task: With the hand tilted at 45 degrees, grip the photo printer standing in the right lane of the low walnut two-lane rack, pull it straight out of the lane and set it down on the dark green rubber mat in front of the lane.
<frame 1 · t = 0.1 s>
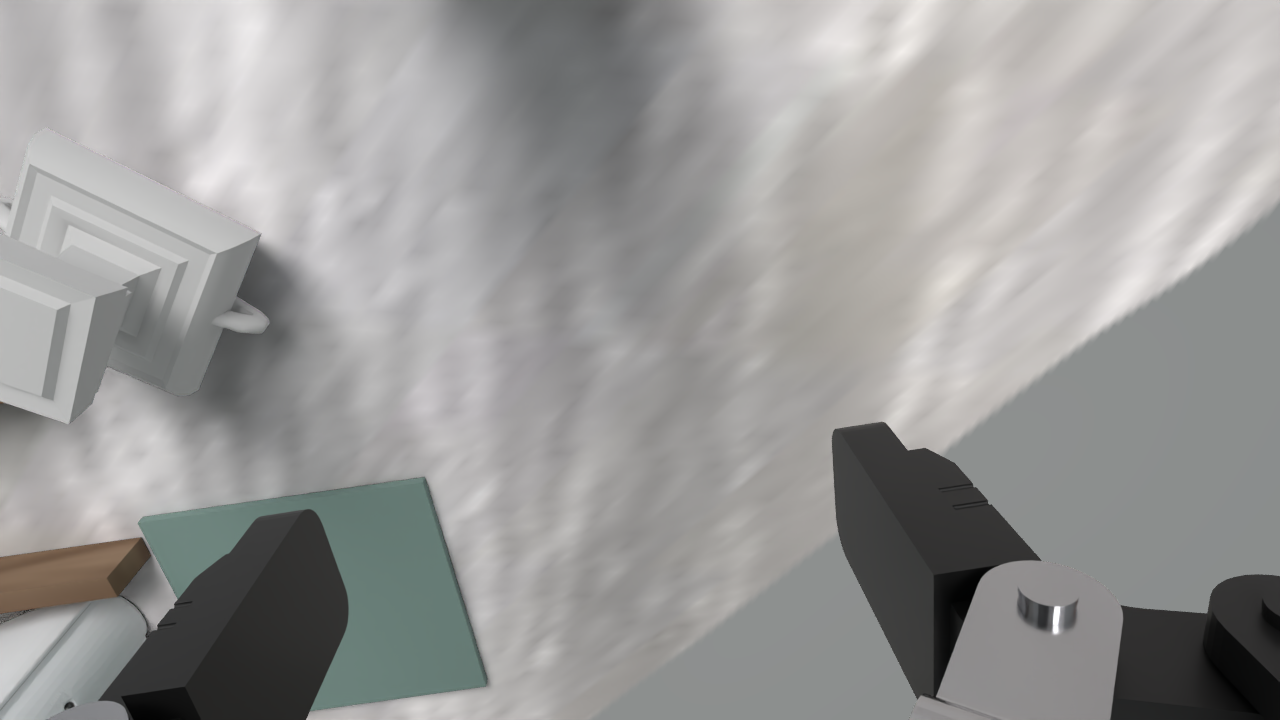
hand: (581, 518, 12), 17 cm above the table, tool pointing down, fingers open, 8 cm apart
photo printer: (50, 639, 34), resting in lane rack
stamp: (169, 245, 27), on the table
lane rack: (46, 643, 34), on the table
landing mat: (327, 604, 34), on the table
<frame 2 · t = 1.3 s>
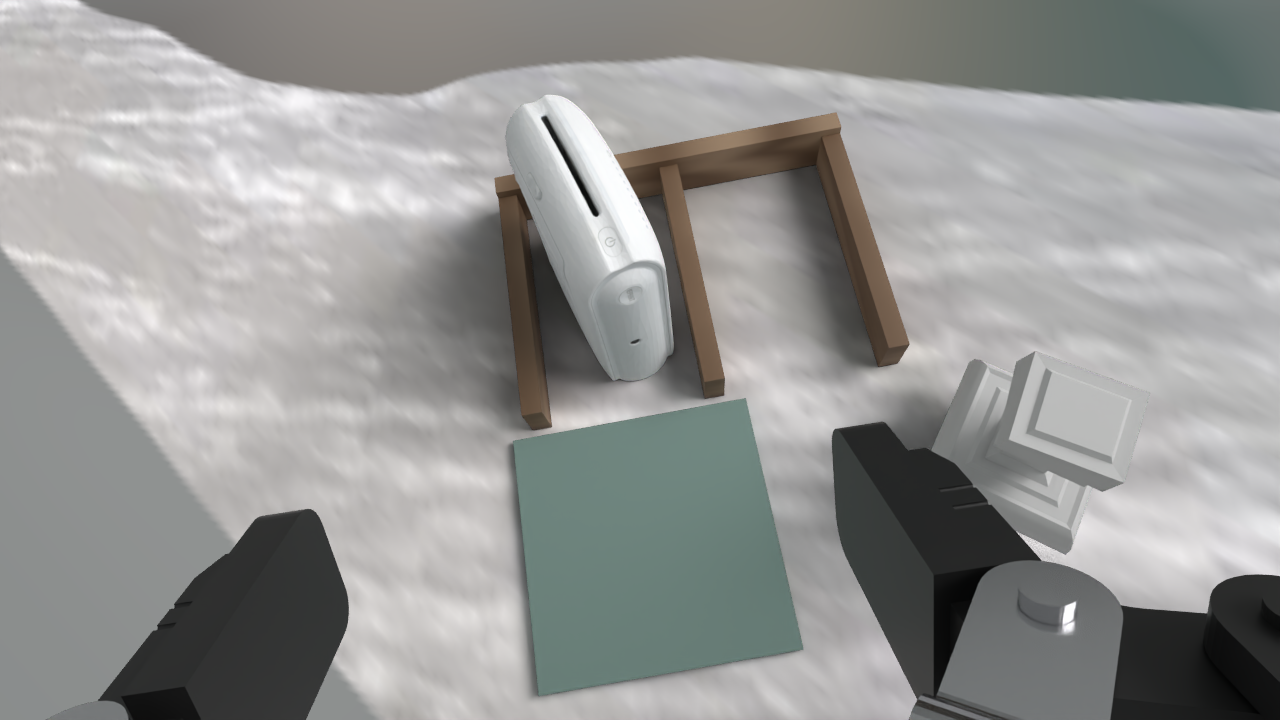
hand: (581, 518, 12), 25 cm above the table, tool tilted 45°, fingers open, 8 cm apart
photo printer: (610, 303, 41), resting in lane rack
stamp: (994, 467, 36), on the table
lane rack: (609, 301, 41), on the table
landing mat: (649, 539, 36), on the table
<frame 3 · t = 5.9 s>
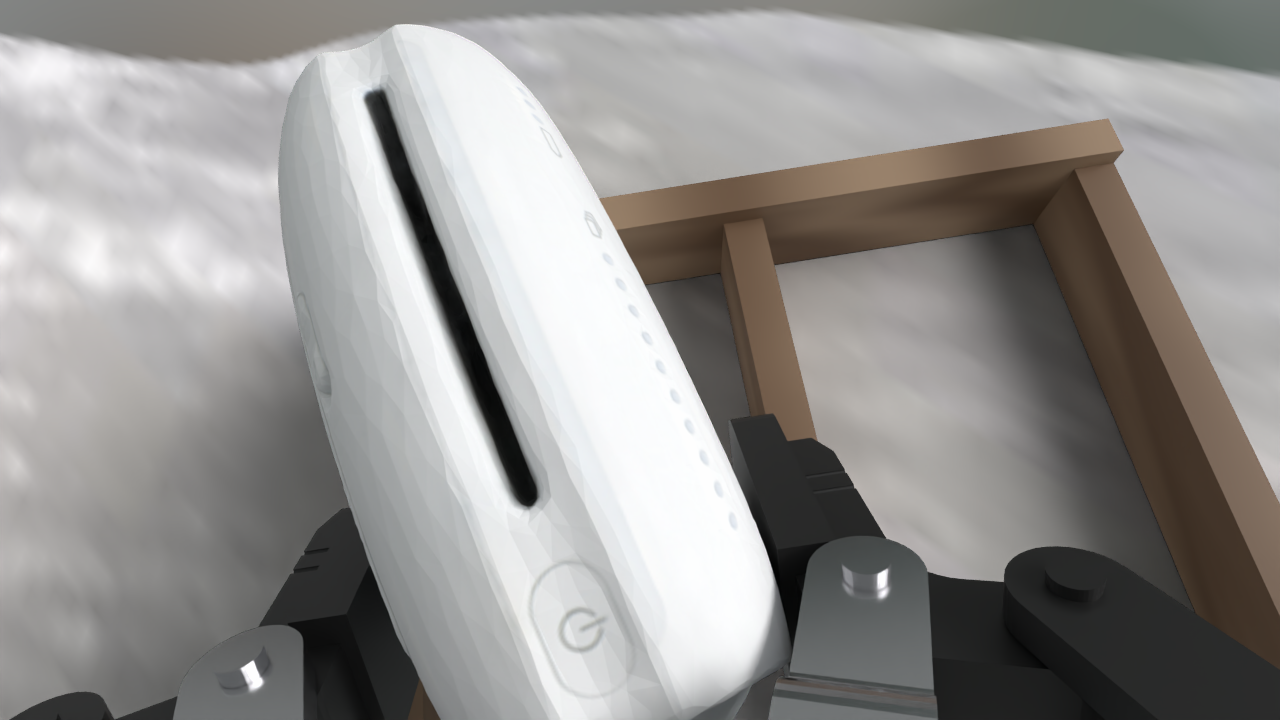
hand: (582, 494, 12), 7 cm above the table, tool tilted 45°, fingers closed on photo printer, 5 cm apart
photo printer: (609, 512, 19), resting in lane rack, touching gripper
lane rack: (608, 511, 19), on the table
when the fingers open (7 cm above the table, at t = 10.1 s): photo printer stays where it is, resting on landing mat.
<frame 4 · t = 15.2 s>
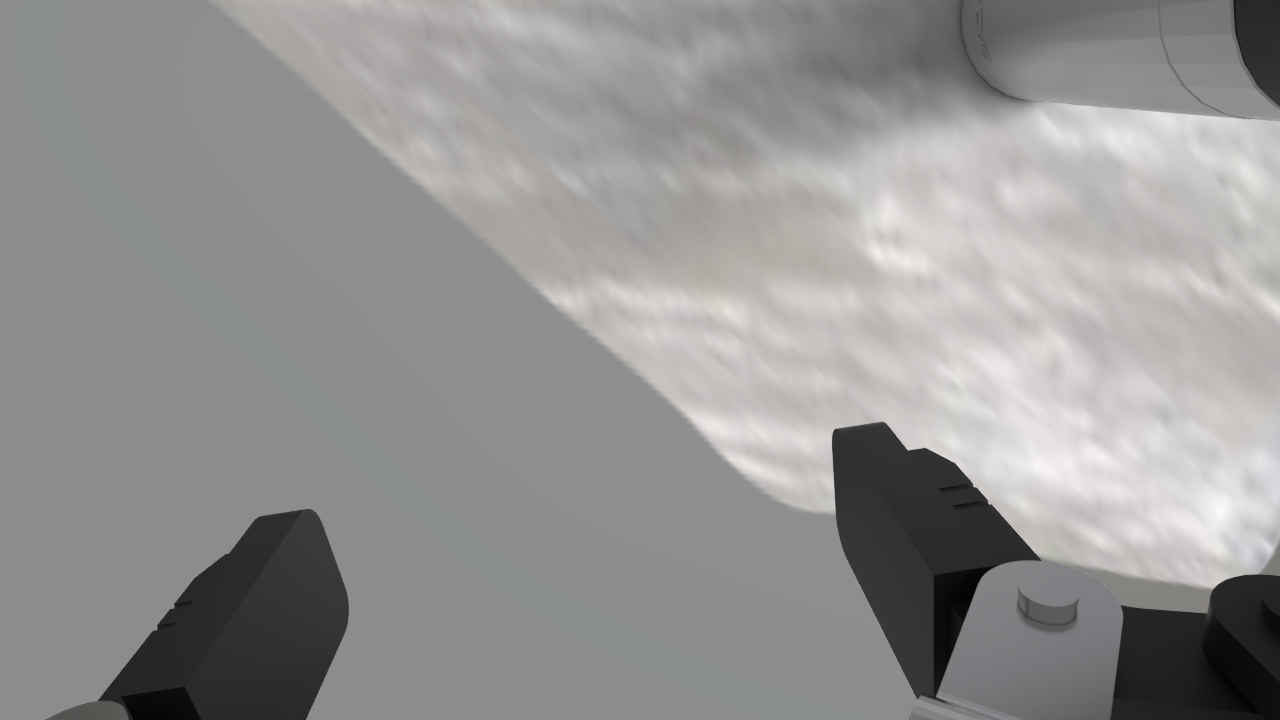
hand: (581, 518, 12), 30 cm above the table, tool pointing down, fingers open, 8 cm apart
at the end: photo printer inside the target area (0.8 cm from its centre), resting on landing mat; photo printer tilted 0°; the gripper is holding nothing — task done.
